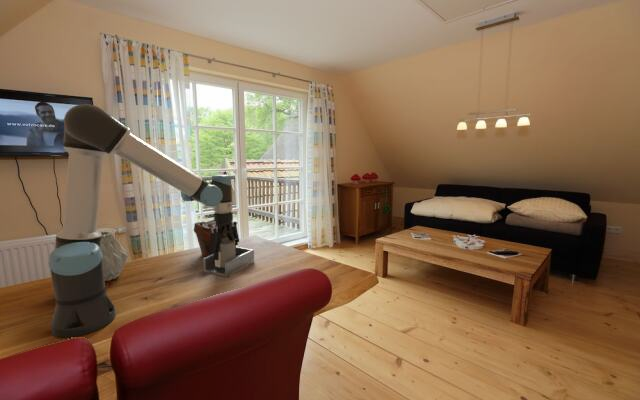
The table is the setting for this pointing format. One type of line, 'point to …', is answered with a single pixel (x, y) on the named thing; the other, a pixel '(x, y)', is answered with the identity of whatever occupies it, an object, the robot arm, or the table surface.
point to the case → (205, 236)
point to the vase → (112, 256)
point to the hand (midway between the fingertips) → (225, 262)
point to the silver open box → (230, 262)
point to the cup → (227, 251)
